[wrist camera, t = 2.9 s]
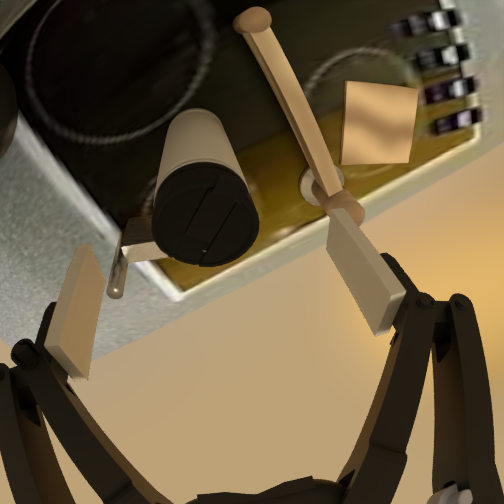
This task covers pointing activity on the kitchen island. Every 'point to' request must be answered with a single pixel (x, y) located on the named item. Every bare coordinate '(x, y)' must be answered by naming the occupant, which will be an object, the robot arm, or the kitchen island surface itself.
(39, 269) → the kitchen island surface
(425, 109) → the kitchen island surface
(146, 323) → the kitchen island surface
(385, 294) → the robot arm
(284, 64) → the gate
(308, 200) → the hinge base
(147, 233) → the post
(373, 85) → the coaster
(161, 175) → the travel mug
